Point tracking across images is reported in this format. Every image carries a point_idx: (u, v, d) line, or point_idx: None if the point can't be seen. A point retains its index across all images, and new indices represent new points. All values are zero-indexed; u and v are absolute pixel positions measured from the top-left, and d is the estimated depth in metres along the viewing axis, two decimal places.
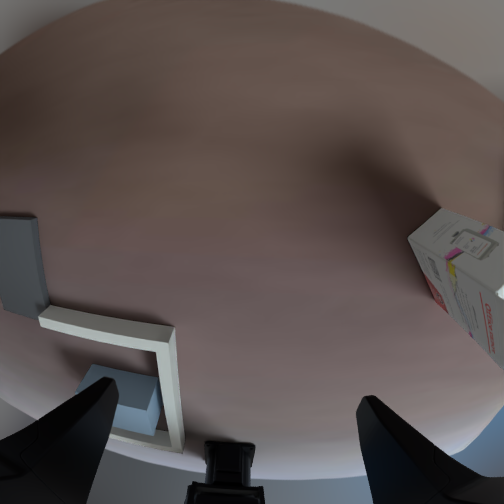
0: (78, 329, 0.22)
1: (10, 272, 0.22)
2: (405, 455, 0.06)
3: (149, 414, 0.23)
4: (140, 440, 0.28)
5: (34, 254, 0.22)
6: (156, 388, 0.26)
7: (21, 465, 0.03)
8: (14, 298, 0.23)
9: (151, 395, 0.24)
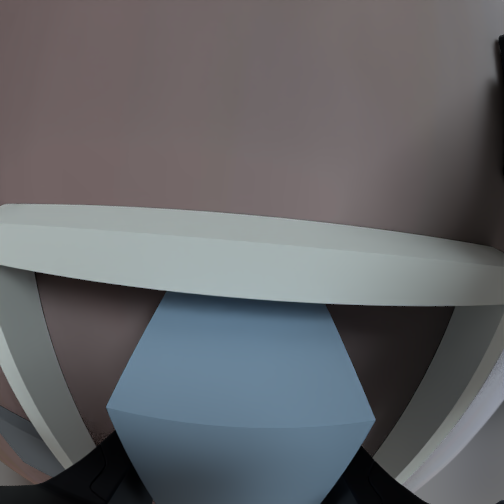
0: (35, 423, 0.08)
1: (58, 469, 0.13)
2: None
3: (180, 400, 0.04)
4: (456, 398, 0.08)
5: (9, 423, 0.11)
6: (179, 306, 0.07)
7: (95, 500, 0.03)
8: None
9: (143, 341, 0.06)
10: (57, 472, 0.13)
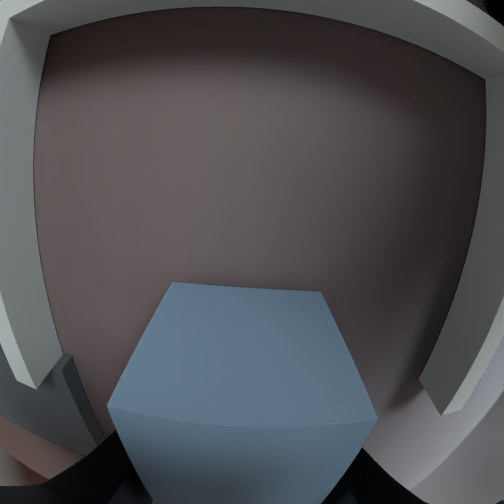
0: None
1: (20, 404, 0.11)
2: None
3: (181, 398, 0.04)
4: None
5: None
6: (180, 304, 0.07)
7: (95, 500, 0.04)
8: (61, 426, 0.11)
9: (144, 339, 0.06)
10: (20, 412, 0.11)
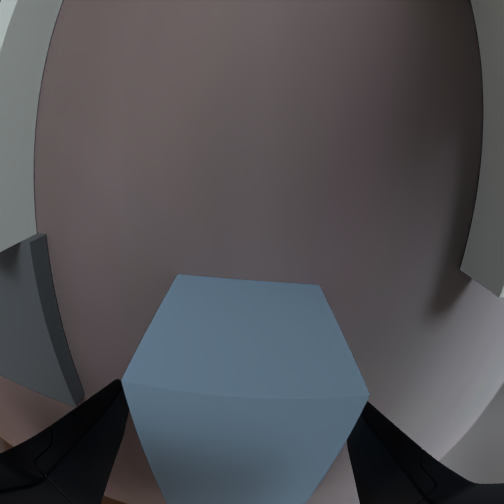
0: None
1: None
2: (390, 458, 0.06)
3: (191, 373, 0.05)
4: None
5: None
6: (187, 292, 0.08)
7: (36, 473, 0.03)
8: (24, 350, 0.09)
9: (154, 322, 0.06)
10: None
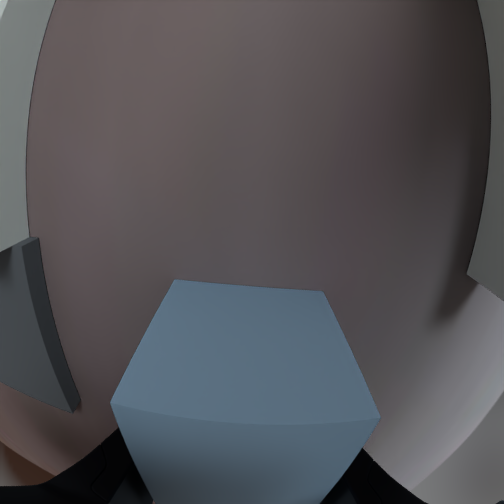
0: None
1: None
2: None
3: (186, 395, 0.04)
4: None
5: None
6: (183, 302, 0.07)
7: (96, 500, 0.03)
8: (19, 355, 0.09)
9: (147, 336, 0.06)
10: None
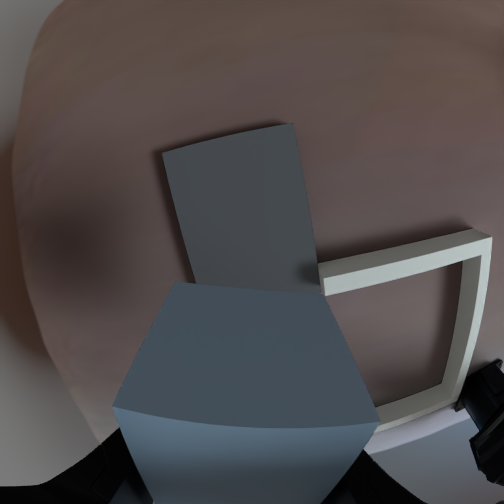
0: (400, 266, 0.17)
1: (235, 231, 0.18)
2: None
3: (187, 399, 0.04)
4: (417, 411, 0.22)
5: (302, 177, 0.17)
6: (184, 304, 0.07)
7: (96, 500, 0.04)
8: (240, 279, 0.19)
9: (148, 339, 0.06)
10: (216, 225, 0.18)
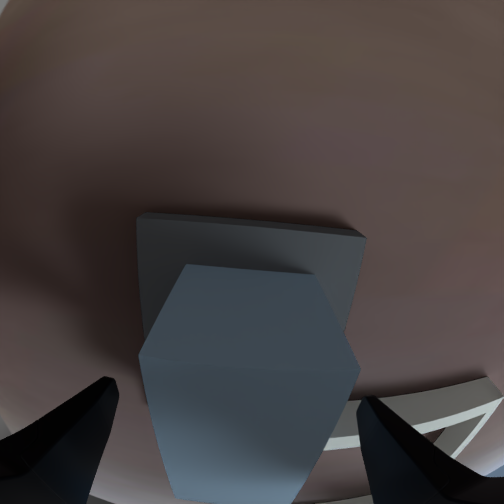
0: None
1: None
2: (405, 455, 0.06)
3: (201, 348, 0.06)
4: None
5: (345, 319, 0.11)
6: (195, 281, 0.09)
7: (21, 465, 0.03)
8: None
9: (165, 307, 0.07)
10: None
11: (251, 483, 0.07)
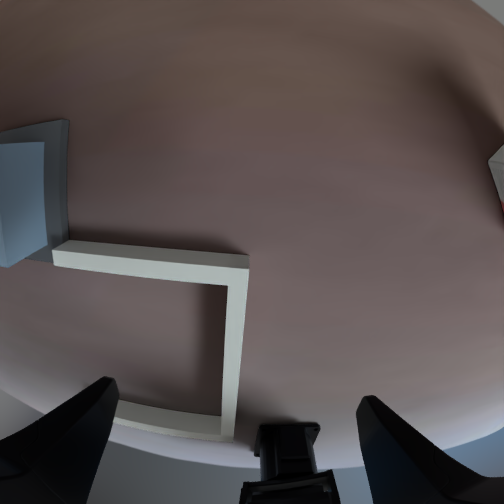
0: (111, 261, 0.17)
1: None
2: (405, 455, 0.06)
3: None
4: (177, 429, 0.23)
5: (58, 164, 0.17)
6: None
7: (21, 465, 0.03)
8: None
9: None
10: None
11: None
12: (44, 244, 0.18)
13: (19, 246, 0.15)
